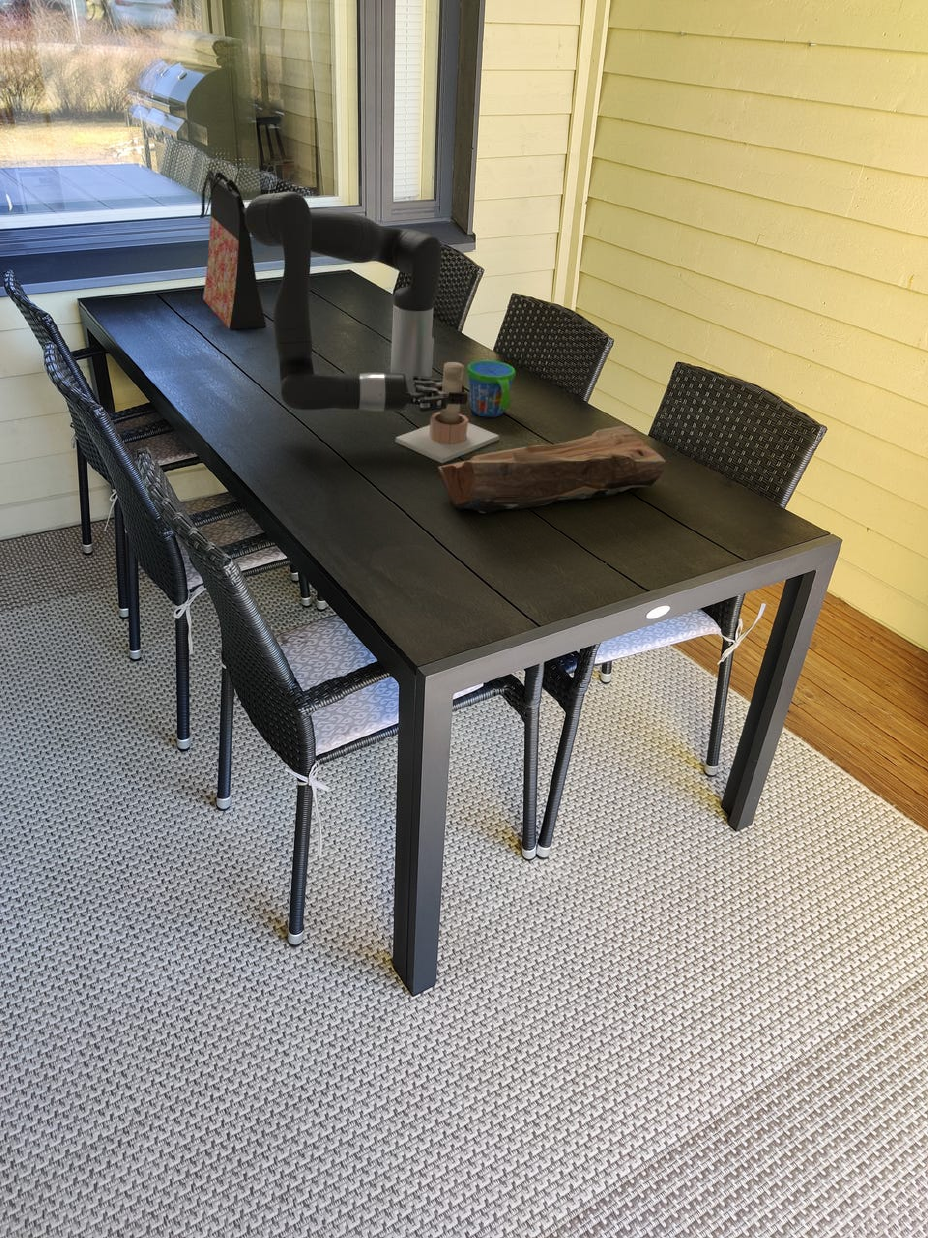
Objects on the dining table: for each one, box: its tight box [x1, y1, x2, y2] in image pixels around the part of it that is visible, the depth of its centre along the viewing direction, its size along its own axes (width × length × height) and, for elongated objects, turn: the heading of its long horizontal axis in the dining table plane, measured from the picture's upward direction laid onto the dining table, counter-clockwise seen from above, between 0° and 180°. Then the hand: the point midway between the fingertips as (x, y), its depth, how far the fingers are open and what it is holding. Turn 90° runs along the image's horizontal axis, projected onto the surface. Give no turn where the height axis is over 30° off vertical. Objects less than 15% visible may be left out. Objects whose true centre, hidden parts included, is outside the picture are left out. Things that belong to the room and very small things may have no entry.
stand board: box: [395, 422, 500, 464], centre depth 206 cm, size 18×13×1 cm
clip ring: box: [429, 411, 469, 444], centre depth 204 cm, size 8×8×4 cm
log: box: [437, 424, 667, 514], centre depth 186 cm, size 42×18×15 cm, turn 114°
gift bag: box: [199, 170, 267, 330], centre depth 251 cm, size 29×14×35 cm, turn 27°
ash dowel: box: [439, 361, 465, 425], centre depth 201 cm, size 4×4×14 cm
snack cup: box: [466, 359, 517, 418], centre depth 218 cm, size 16×10×10 cm
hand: (464, 394), depth 200 cm, fingers closed on ash dowel, 3 cm apart
